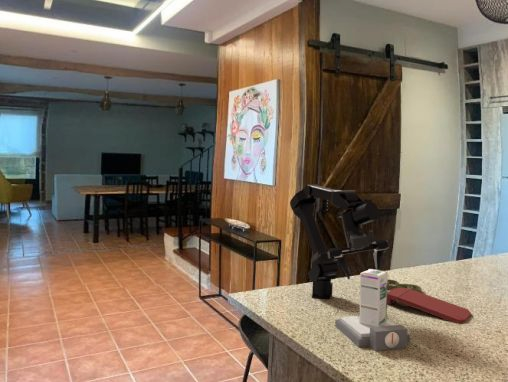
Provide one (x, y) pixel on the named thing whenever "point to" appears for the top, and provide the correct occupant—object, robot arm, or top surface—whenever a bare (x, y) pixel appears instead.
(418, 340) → the top surface
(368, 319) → the syrup box
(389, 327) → the kitchen scale
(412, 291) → the red wedge doorstop
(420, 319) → the top surface
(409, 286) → the cookie cutter
